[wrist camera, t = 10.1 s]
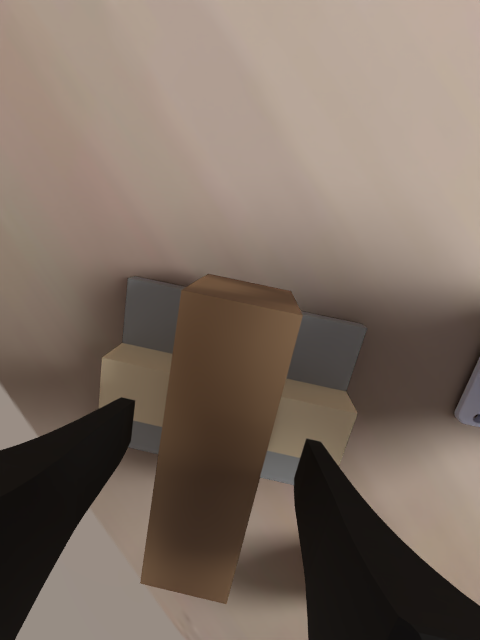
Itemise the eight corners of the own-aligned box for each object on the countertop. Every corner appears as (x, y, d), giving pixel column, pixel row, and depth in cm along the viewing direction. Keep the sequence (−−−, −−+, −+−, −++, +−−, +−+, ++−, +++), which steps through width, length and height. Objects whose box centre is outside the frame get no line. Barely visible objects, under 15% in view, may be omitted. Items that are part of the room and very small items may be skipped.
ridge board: (362, 323, 15) (383, 342, 12) (311, 478, 18) (319, 521, 15) (134, 276, 15) (107, 283, 13) (119, 435, 18) (94, 469, 15)
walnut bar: (291, 291, 12) (302, 315, 8) (236, 512, 15) (226, 604, 12) (208, 273, 12) (181, 290, 8) (171, 497, 15) (140, 583, 12)
